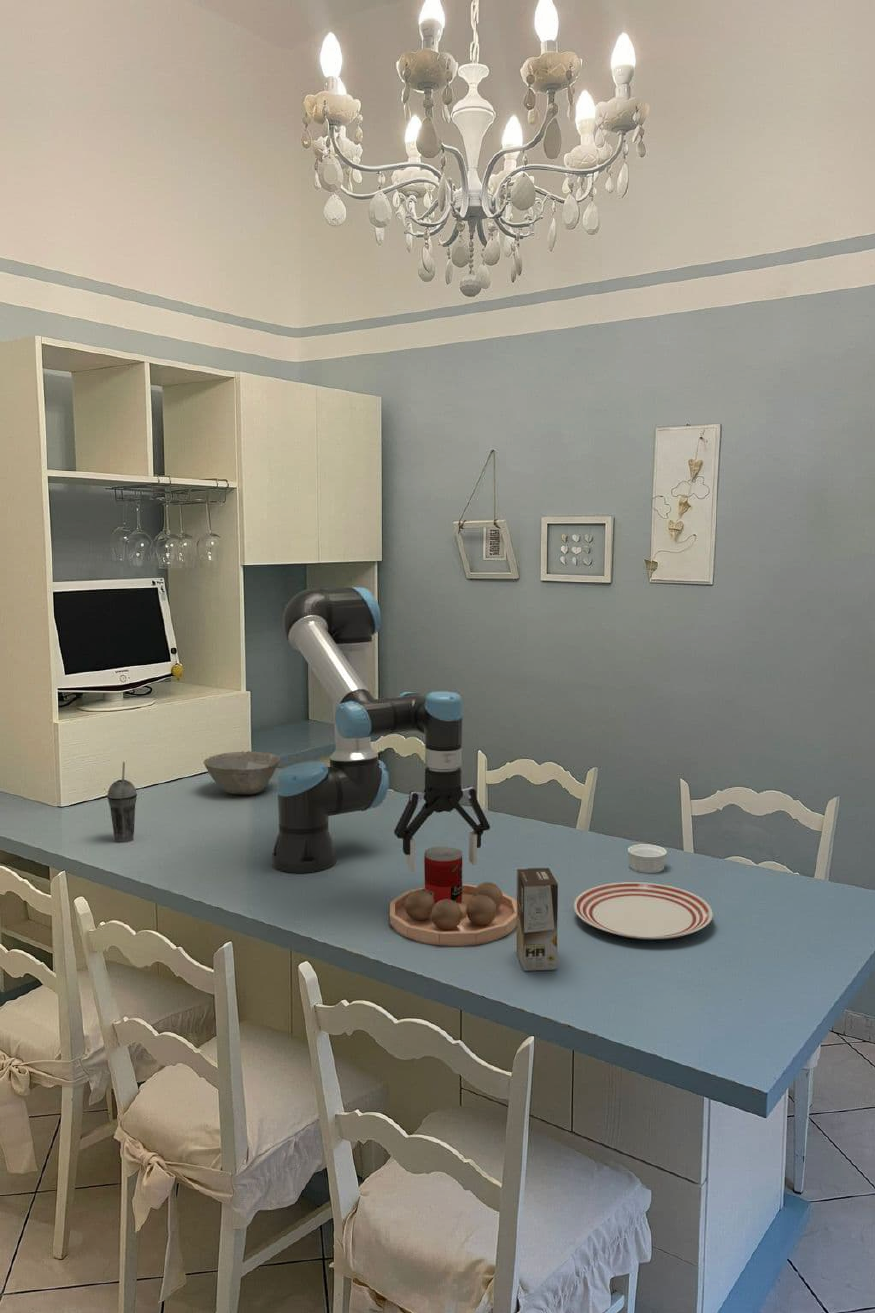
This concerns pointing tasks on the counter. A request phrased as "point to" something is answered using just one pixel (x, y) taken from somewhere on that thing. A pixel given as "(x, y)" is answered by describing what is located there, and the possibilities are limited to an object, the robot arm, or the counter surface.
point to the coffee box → (537, 919)
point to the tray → (463, 932)
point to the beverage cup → (122, 808)
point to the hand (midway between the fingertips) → (442, 865)
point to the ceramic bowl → (242, 771)
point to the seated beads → (455, 907)
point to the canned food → (443, 873)
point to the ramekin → (647, 858)
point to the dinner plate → (643, 910)
